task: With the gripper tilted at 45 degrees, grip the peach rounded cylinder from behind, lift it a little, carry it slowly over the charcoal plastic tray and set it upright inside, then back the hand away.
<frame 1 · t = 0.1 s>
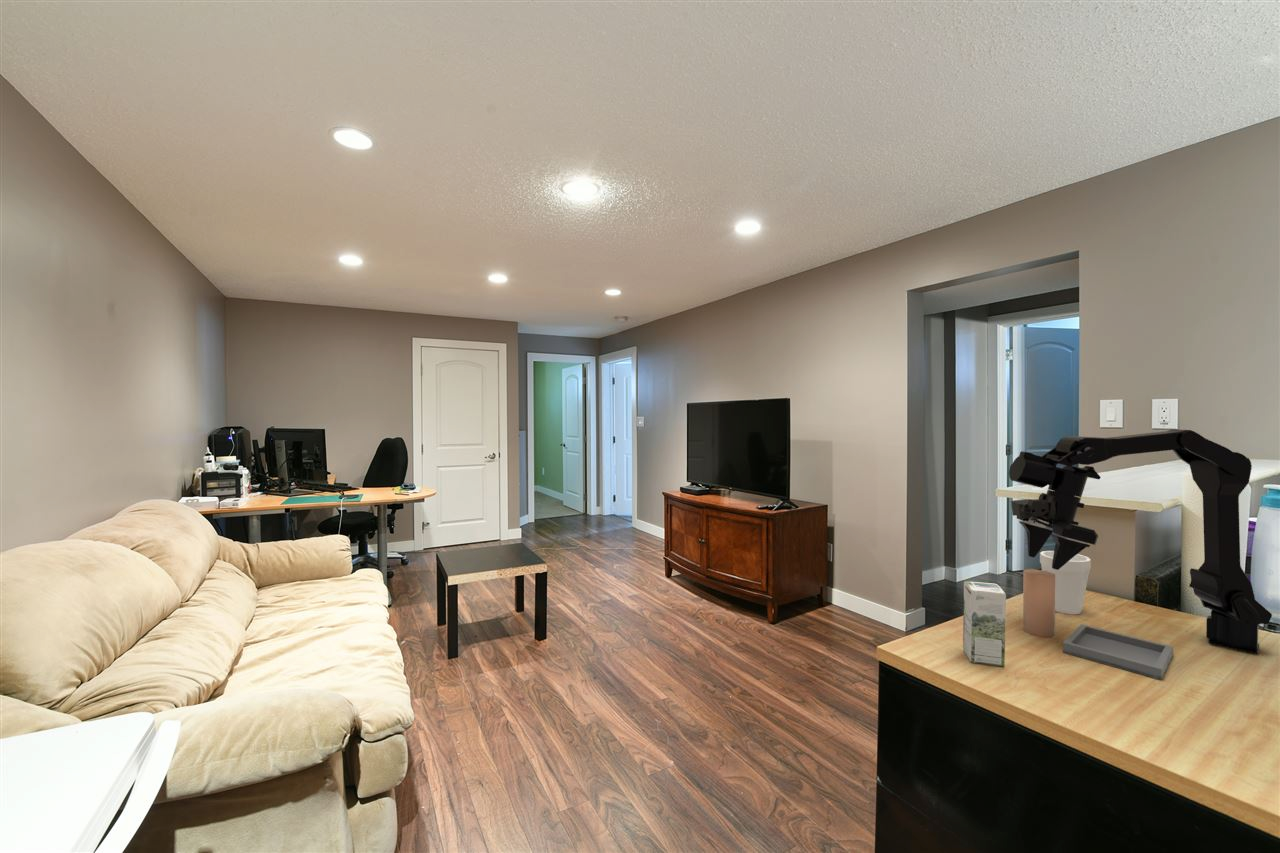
hand: (1042, 562, 112), 15 cm above the counter, tool pointing down, fingers open, 9 cm apart
syrup box: (983, 659, 102), on the counter
peach rounded cylinder: (1038, 631, 113), on the counter
foam cup: (1064, 610, 126), on the counter
tray: (1117, 654, 103), on the counter
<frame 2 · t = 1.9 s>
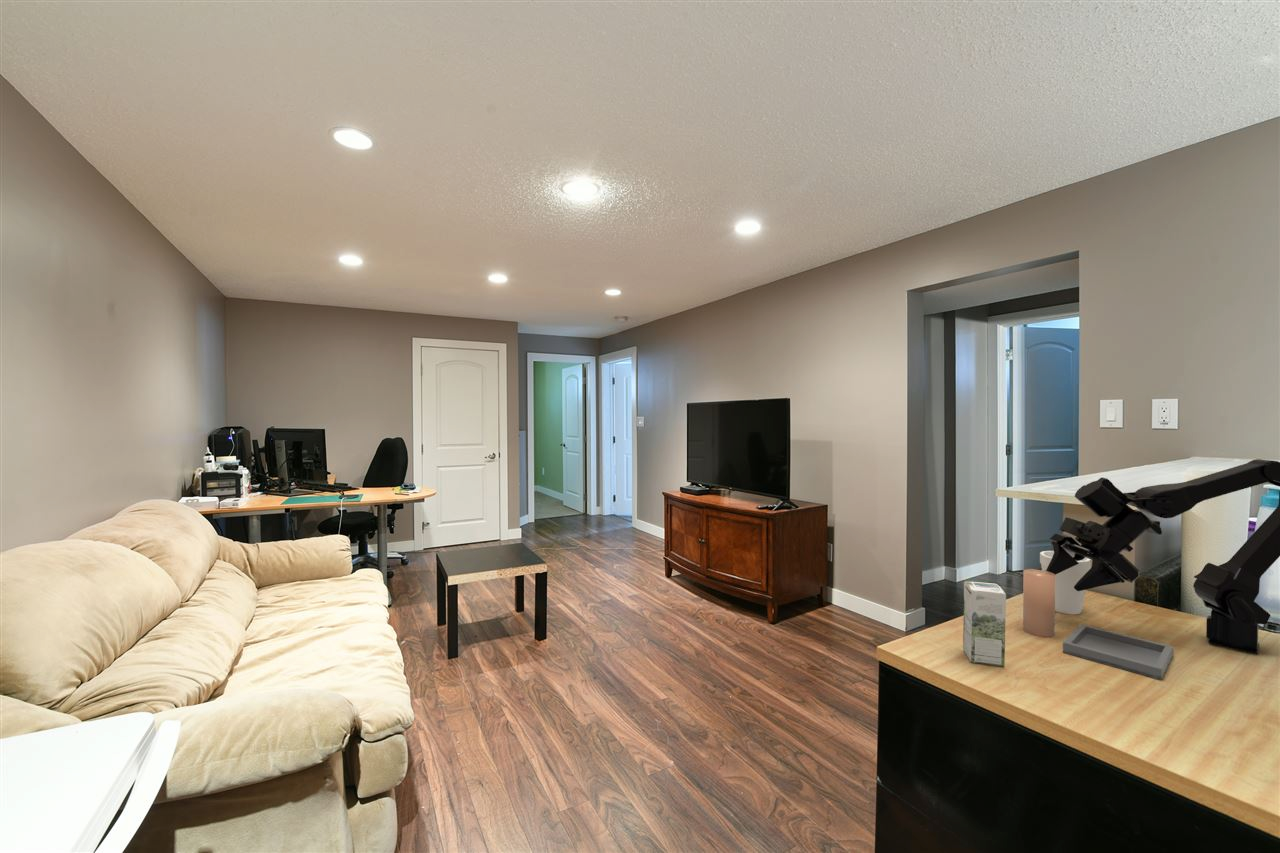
hand: (1060, 582, 113), 11 cm above the counter, tool tilted 45°, fingers open, 9 cm apart
nothing on the counter moved.
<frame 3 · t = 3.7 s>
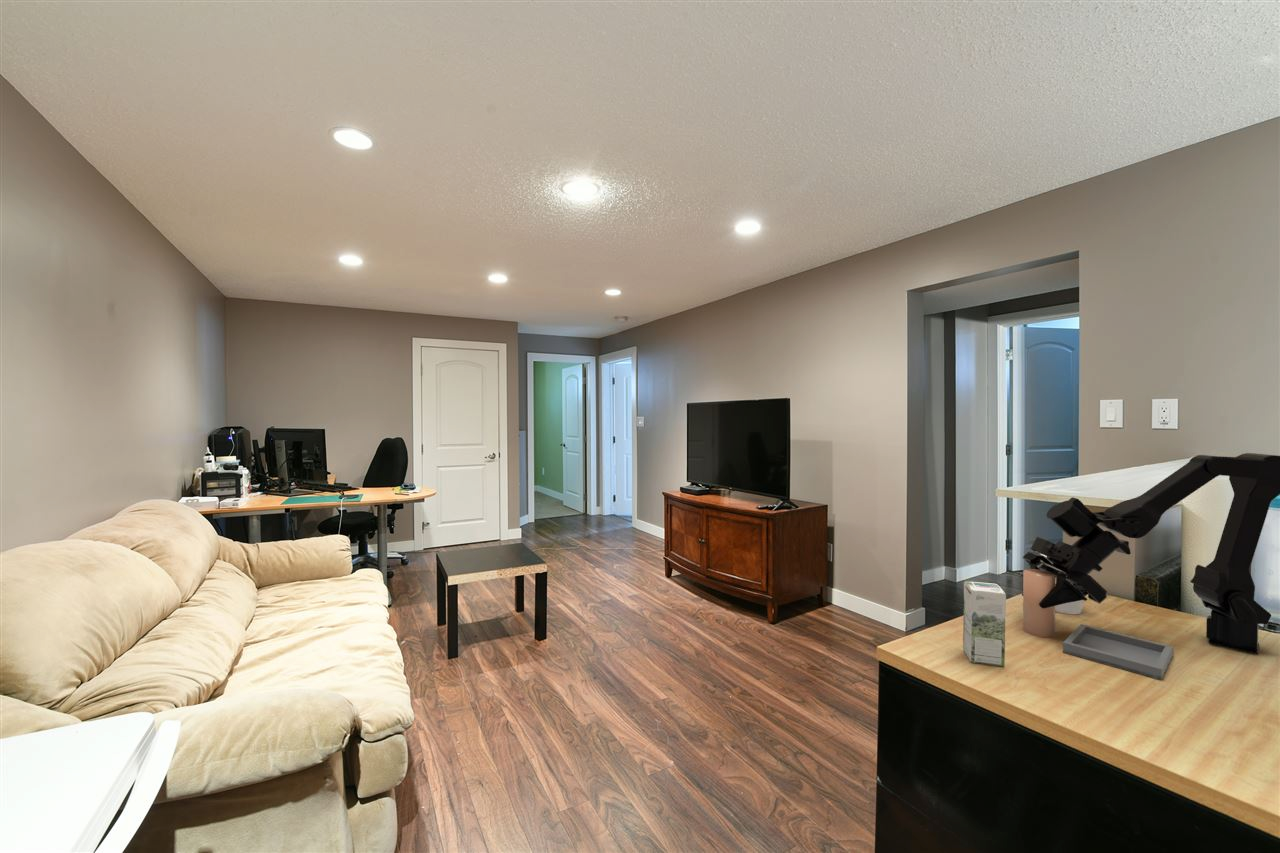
hand: (1031, 601, 113), 7 cm above the counter, tool tilted 45°, fingers closed on peach rounded cylinder, 5 cm apart
peach rounded cylinder: (1038, 631, 113), on the counter, touching gripper
everything else where it was.
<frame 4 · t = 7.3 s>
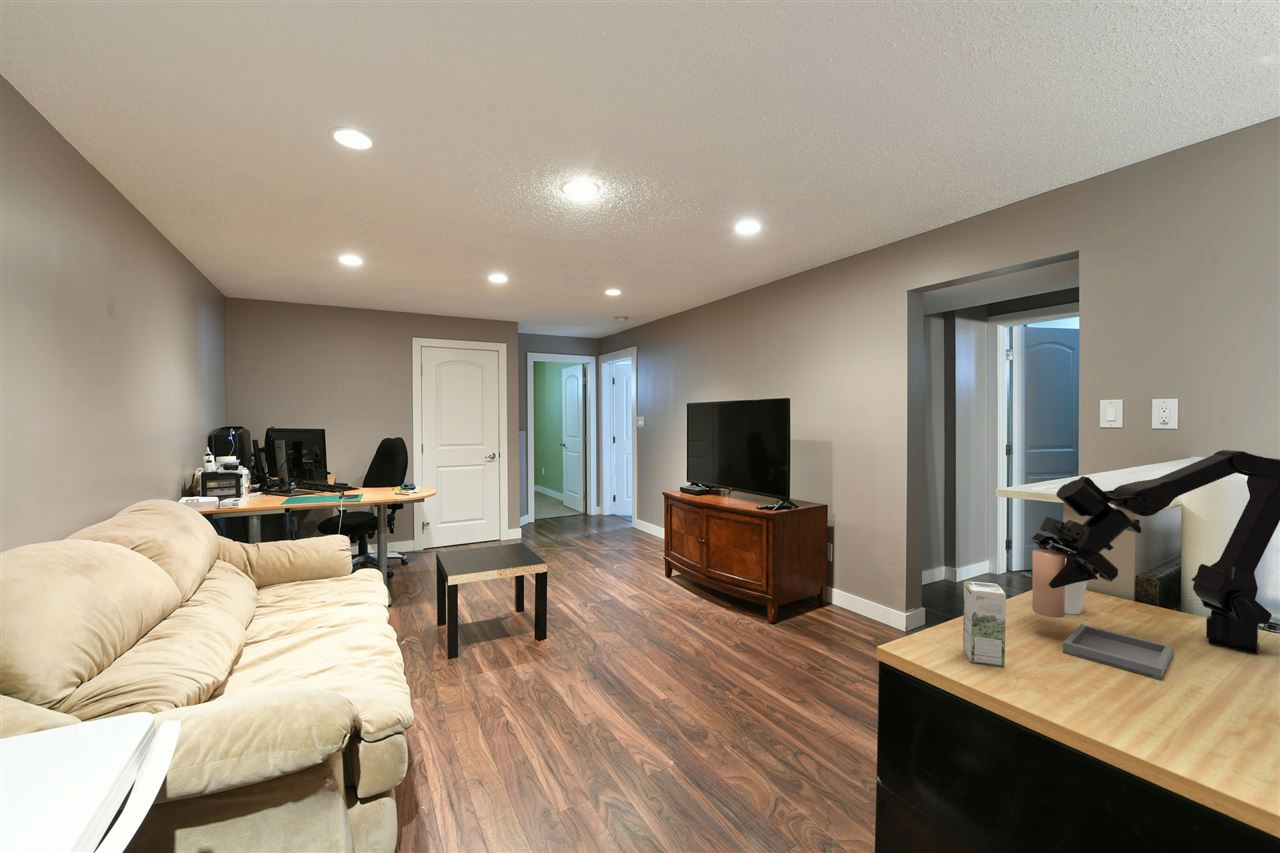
hand: (1041, 582, 112), 11 cm above the counter, tool tilted 45°, fingers closed on peach rounded cylinder, 5 cm apart
peach rounded cylinder: (1048, 612, 112), point 5 cm above the counter, touching gripper
everything else where it was.
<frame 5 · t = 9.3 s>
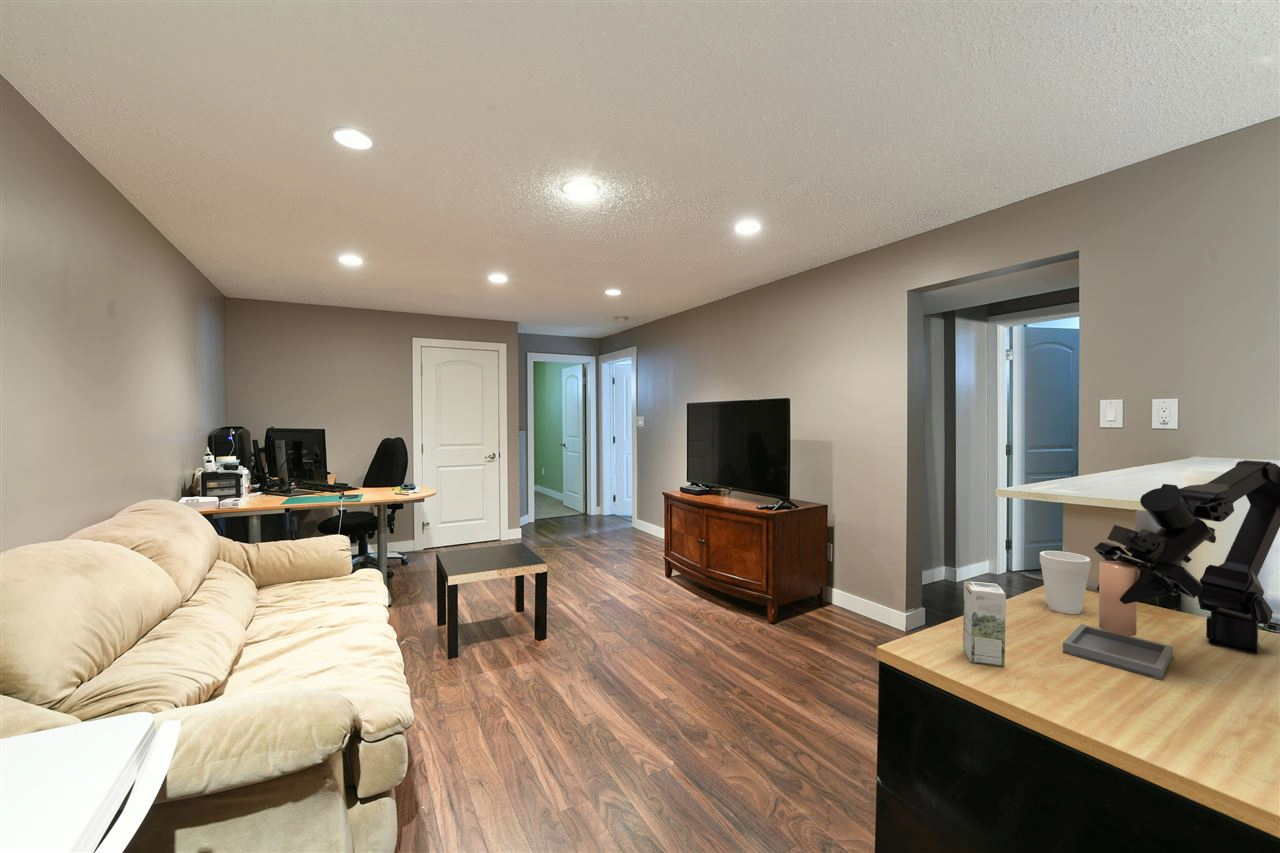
hand: (1110, 596, 102), 11 cm above the counter, tool tilted 45°, fingers closed on peach rounded cylinder, 5 cm apart
peach rounded cylinder: (1117, 629, 103), point 5 cm above the counter, touching gripper
everything else where it was.
when the fingers open (8 cm above the counter, at t = 11.2 s): peach rounded cylinder stays where it is, resting on tray.
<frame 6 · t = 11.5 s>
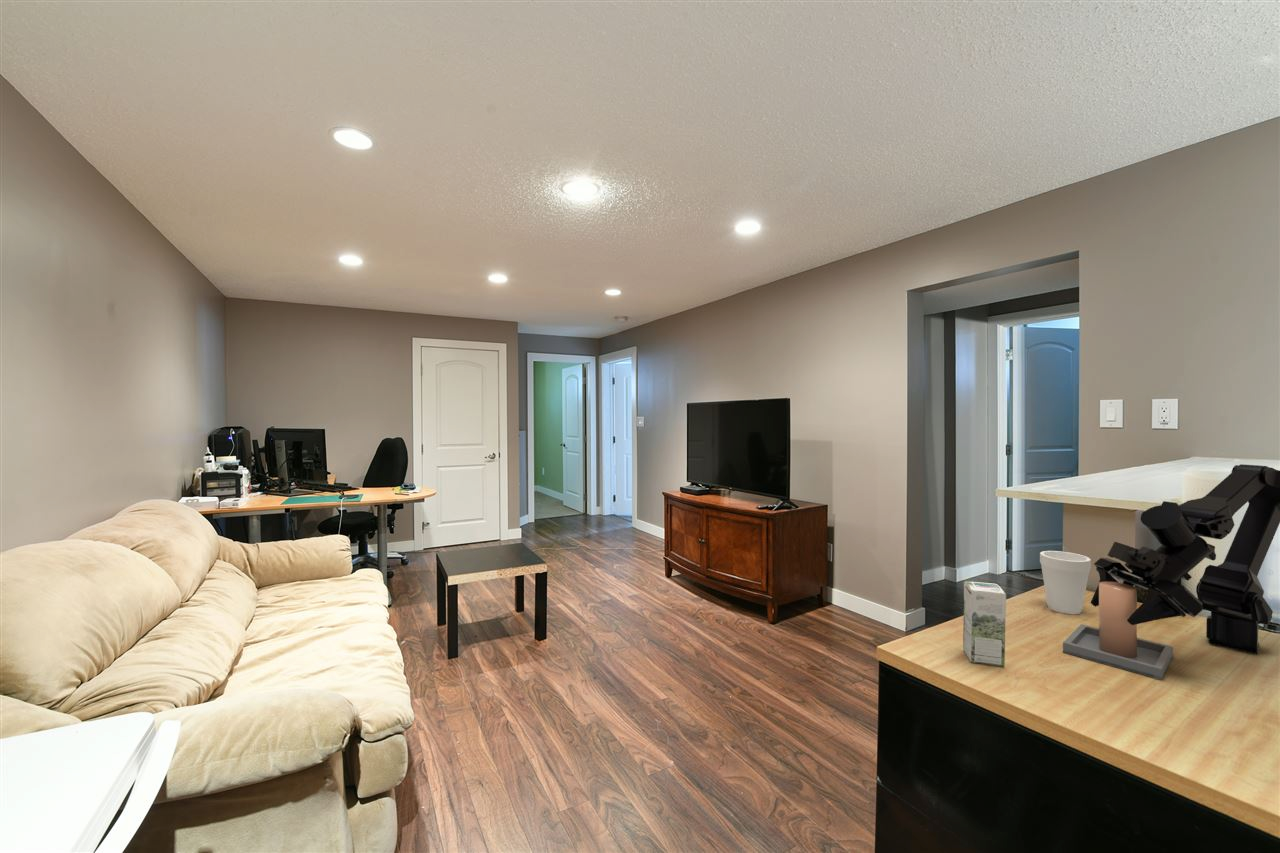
hand: (1110, 613, 103), 8 cm above the counter, tool tilted 45°, fingers open, 9 cm apart
peach rounded cylinder: (1117, 651, 103), point 1 cm above the counter, touching tray
everything else where it was.
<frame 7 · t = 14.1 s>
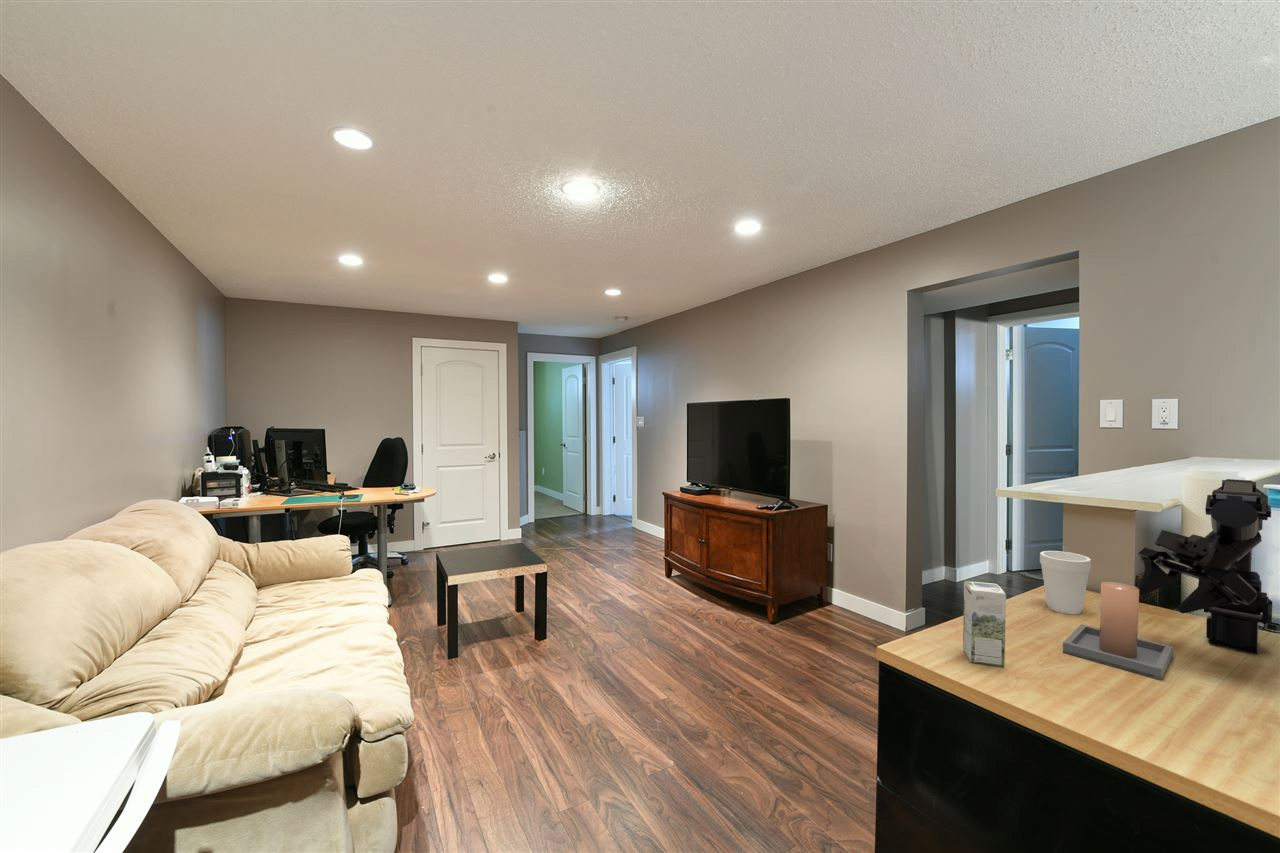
hand: (1157, 602, 101), 11 cm above the counter, tool tilted 45°, fingers open, 9 cm apart
nothing on the counter moved.
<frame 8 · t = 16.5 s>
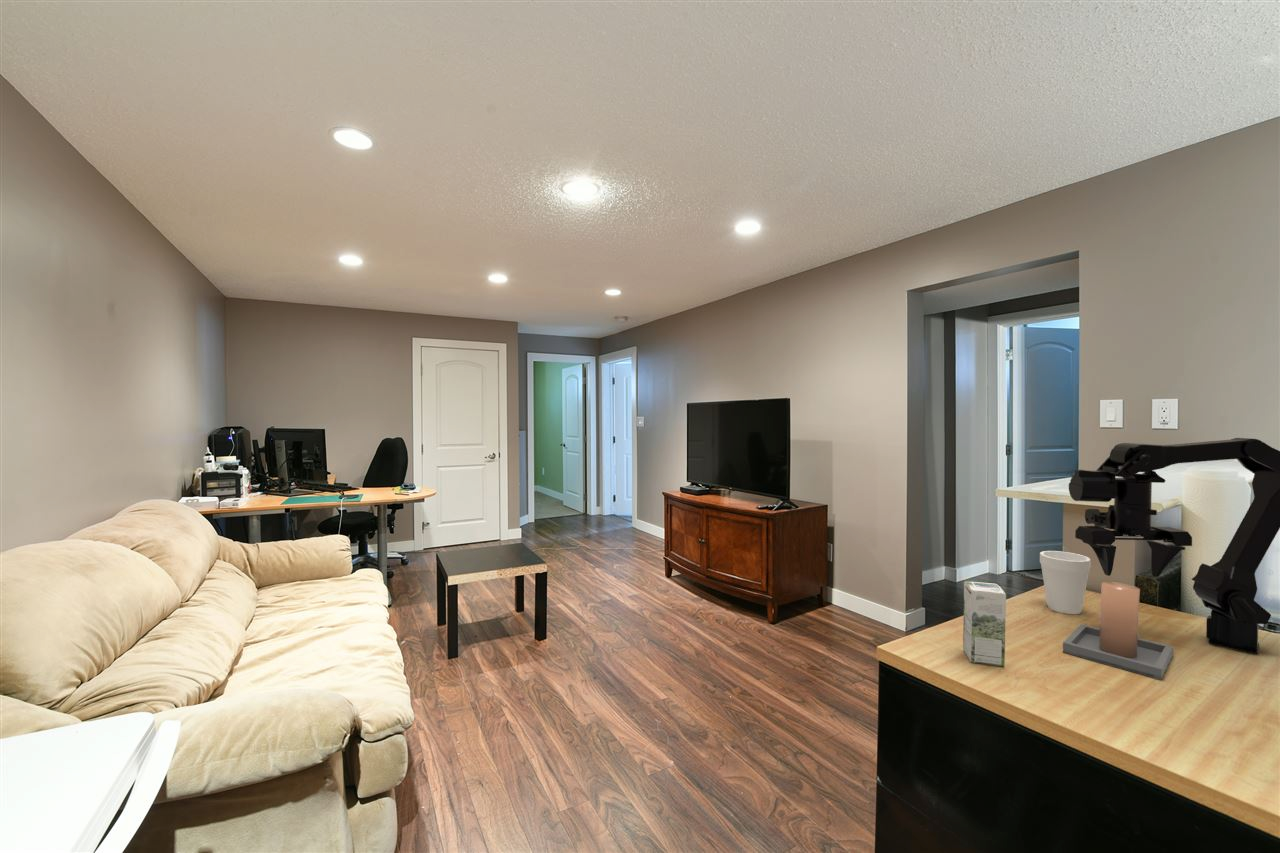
hand: (1131, 575, 110), 13 cm above the counter, tool pointing down, fingers open, 9 cm apart
nothing on the counter moved.
at the end: peach rounded cylinder inside the target area on the tray (0.1 cm from its centre), point 0.7 cm above the tray's base; peach rounded cylinder tilted 1°; the gripper is holding nothing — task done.
